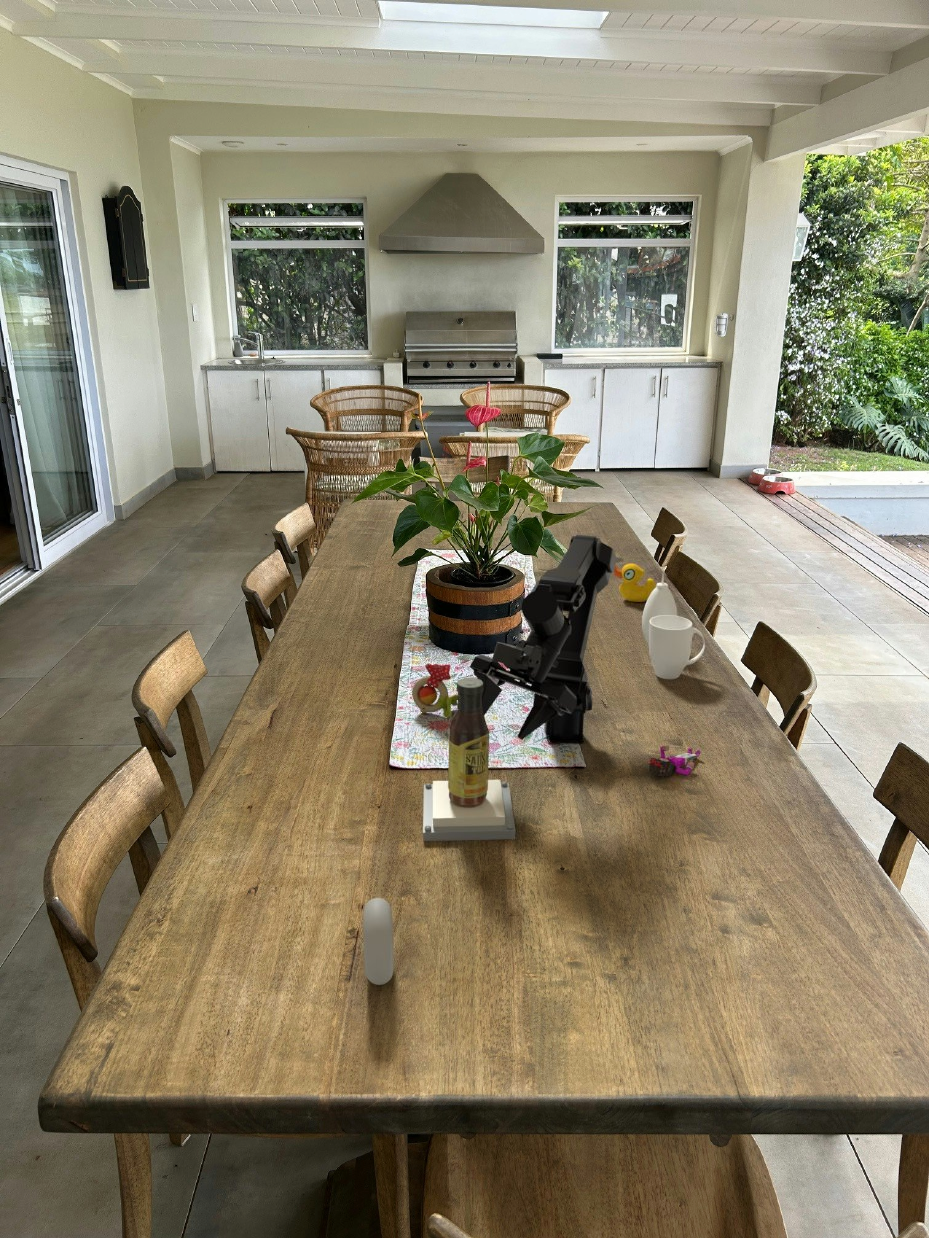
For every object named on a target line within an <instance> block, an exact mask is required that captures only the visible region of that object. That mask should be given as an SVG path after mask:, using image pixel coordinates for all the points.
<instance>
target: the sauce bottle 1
mask: <svg viewBox="0 0 929 1238" xmlns="http://www.w3.org/2000/svg"><path fill="white" fill-rule="evenodd" d="M483 690H484V687H483V682H482V681H481V680H480V679H477V677H465V678H461V679H458V680H457V682H456V691H457V695H458V700H457V706H456V709H457V710H456V711H455V713H454V715H453V716H452V717H451V720H450V723H449V735H448V777H447V778H448V780H447V781H448V789H449V798H450V800H451V801H452V802H453V803H455V804H457V805H459V806H476V805H479V804H481V803H482V802H483V801H484V800H485V799H486V796H487V790H488V780H489V762H490V730H489V727H488V724H487V721H486V717H485V715H484V713H483V710H482V693H483Z"/></svg>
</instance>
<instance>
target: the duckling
mask: <svg viewBox="0 0 929 1238" xmlns="http://www.w3.org/2000/svg"><path fill="white" fill-rule="evenodd" d="M645 572H646V571H645V570H644V569H643V568H641V567H640V566H639V565H637V564H636V563H627V564H625V565H623V567H622V568H621V569H619V568H618V567H617V566H616V565H615V570H614V572H613V575H614V576H615V577H617V578H619V579H623V581H622V582H621V584H620V585H619V588H618V589H619V593H620V595H621V596H622V598H624V599H625V600H626V601H628V602H632V603H633V602H634V603H643V602H645V601H646V602H647V600H648V598H649V596H650V594H651V593H652V591H653V590H654V589H655V588H656V585H657V583H656V581H655V580H654V579H653V578H648V579H647V580H646V581H645V582H644V583H645V584H644V585H639V584H638V582H640V581H641V579H643V577H644V576H645V574H646V573H645Z"/></svg>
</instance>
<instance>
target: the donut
mask: <svg viewBox="0 0 929 1238" xmlns="http://www.w3.org/2000/svg"><path fill="white" fill-rule="evenodd" d="M392 915H393V913H392V907H391V905H390V904H389V902H388V901H387V900H386V899H384V898H382V897H381V898H380V897H374V898H372V899H371V900H368V901H367V903H366V904H365V906H364V910H363V917H362V947H363V948H362V949H363V962H364V963H363V964H364V972H365V976H366V978H367V980H368V981H369V982H370V983H371V984H374V985H378V986H381V985H385V984H386V983H388V982H389V981H390V980H391V979H392V977H393V975H394V967H395V965H394V963H395V961H394V960H395V955H394V952H395V951H394V931H393V928H394V927H393V925H394V924H393V916H392Z"/></svg>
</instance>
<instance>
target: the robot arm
mask: <svg viewBox="0 0 929 1238" xmlns="http://www.w3.org/2000/svg"><path fill="white" fill-rule="evenodd" d="M616 561H617V558H616V553H615V551H614V548H613V547H611V546H609V545H607V544H605V543H604V542H602V540H601V539H600V538H599V537H597V536H594V535H585V534H576V535H572V536H571V538H570V543H569V546H568V548H567V551H565V554H564V555H563V557H562V559H561V560H560V562H559V564H558V565H557V567H555V568H551V569H548V570H546V571H545V572H544V573H543V574H542V575H541V577H540V578H539V580H537V581H536V583H535V584H534V586H533V588H532V590H530V592H529V593H528V594H527V595H526V596H525V598H524V599H523V600H522V602H521V613H522V615H523V617H524V619H525V622H526V623H527V625H528V627H529V629H530V630H531V631H530V632H529V634H528V635H527V637H526V639H522V638H521V639H520V640H518V642H517V643H516V645H512V644H509V643H504V642H499V641H496V645H495V648H494V650H493V655H492V657H489V656H486V655H485V654H484V655H483V654H478V655H476V656H474V657H473V660H472V661H471V663H470V665H469V668H470V669H471V670H472V671H473V675H474V677H475V678H477V679H480V680H481V681H482V682H483V687H484V690H483V693H482V710H483V713H484V716H485V715H486V714H487V713H488V711H489V710H490V708H491V707H492V706H493V704H494V703H495V701H496V700H497V698H498V697H499V696H500V695H501V693H502V691H503V688H501V686H502V685H505V684H506V683H507V684H510V685H513V686H515V687H517V688H520V689H523V690H525V691H529V692H530V693H533V694H534V696H533V703H532V704H533V705H532V707H531V709H530V711H529V713H528V715H527V716H526V718H525V720H524V721H523V723H522V726H521V727H520V730H519V732H518V735H517V738H518V739H519V740H524V739H525V738H526V737H528V736H530V734H532V733H533V732H535V731H536V730H537V729H539V728H540V727H541V726H543V725H544V727H543V728H544V732H545V736H546V737H548V742H549V743H550V744H570V743H571V744H576V743H577V744H578V743H579V744H581V743H585V741H586V739H585V736H584V725H585V724H584V719H585V717H584V716H585V714H586V713H587V712H588V711H592V710H593V703H594V701H593V691H592V688H591V685H590V683H589V681H588V680H589V679H588V675H587V672H586V669H585V666H584V664H583V662H584V657H585V652H586V647H587V644H588V639H589V634H590V629H591V626H592V625H591V624H592V621H593V616H594V612H595V606H596V602H597V598H598V594H600V593H601V591H602V590H604V589H605V588H606V586H608V585H609V583H610V579H611V574H614V570H615V566H616ZM564 612H568V613H567V614H568V615H567V616H566V615H565V614H564ZM502 664H503V665H502ZM505 667H506V668H505ZM507 669H509V670H507Z"/></svg>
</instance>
